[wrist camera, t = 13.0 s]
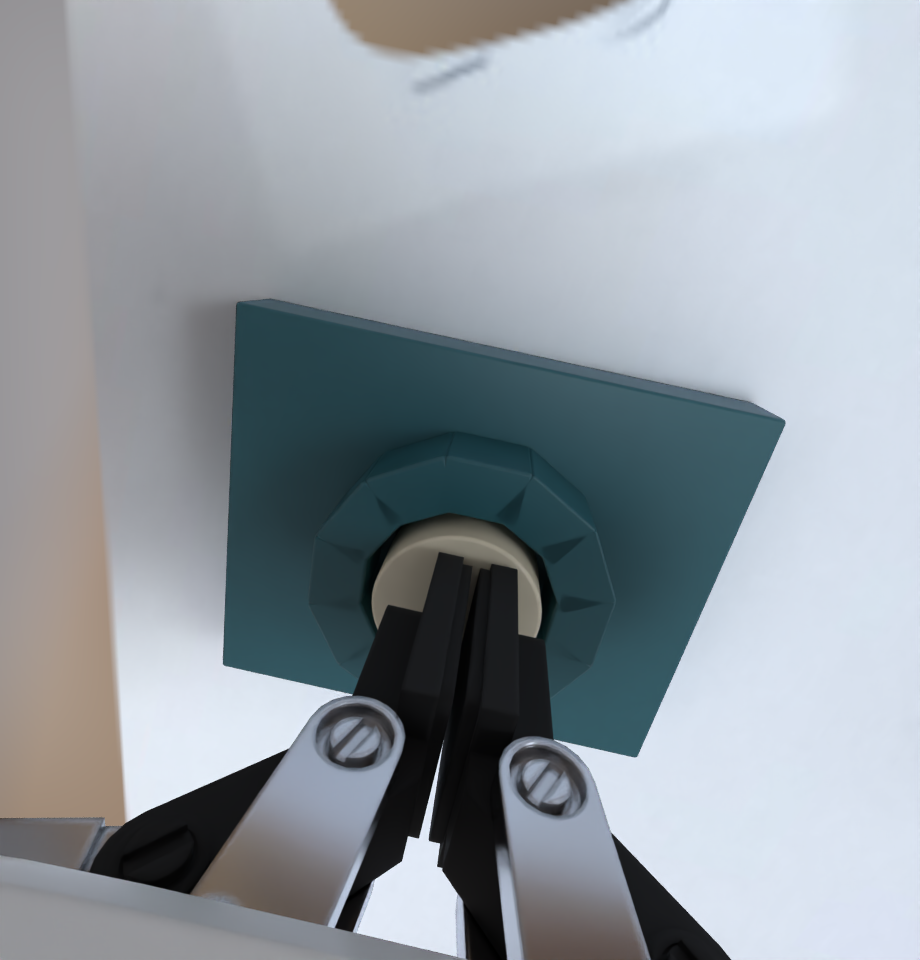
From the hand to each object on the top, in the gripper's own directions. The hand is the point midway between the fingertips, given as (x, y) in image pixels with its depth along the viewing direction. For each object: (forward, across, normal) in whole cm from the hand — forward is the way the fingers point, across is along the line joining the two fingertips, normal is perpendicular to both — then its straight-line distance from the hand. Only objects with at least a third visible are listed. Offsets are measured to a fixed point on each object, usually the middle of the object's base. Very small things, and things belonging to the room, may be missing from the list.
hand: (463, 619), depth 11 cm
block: (+4, 0, 0) cm, 4 cm away
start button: (+2, 0, 0) cm, 2 cm away
